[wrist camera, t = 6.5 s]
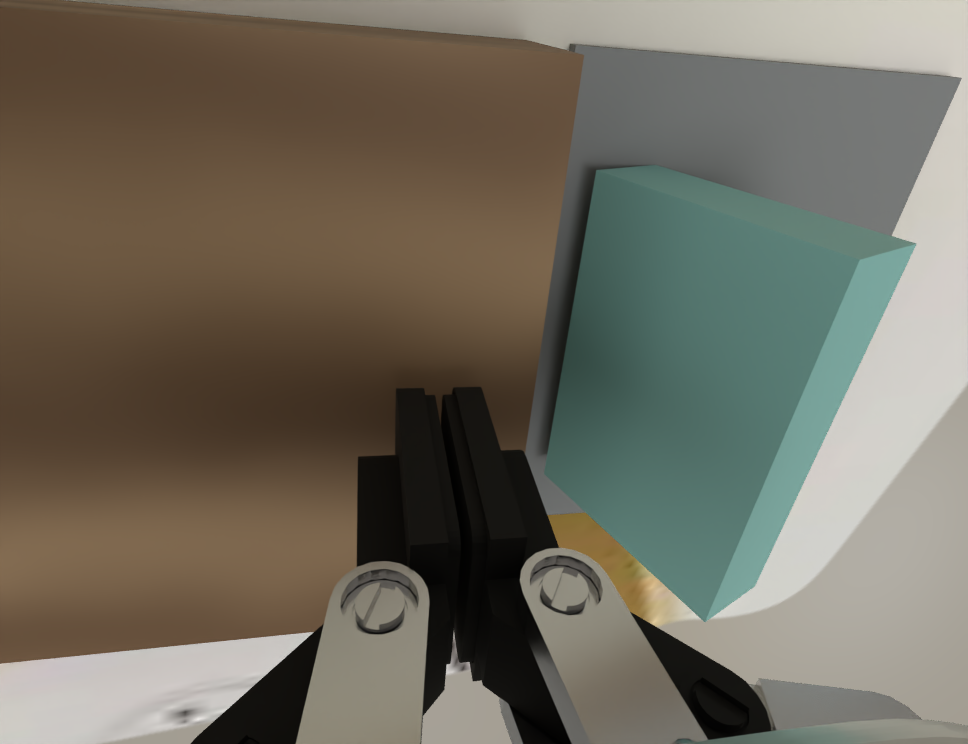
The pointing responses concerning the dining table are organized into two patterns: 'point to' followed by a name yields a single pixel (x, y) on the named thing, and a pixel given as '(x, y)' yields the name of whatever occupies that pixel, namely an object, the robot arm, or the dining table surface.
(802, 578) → the dining table surface
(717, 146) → the mat
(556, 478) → the teal rectangular block
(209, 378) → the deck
